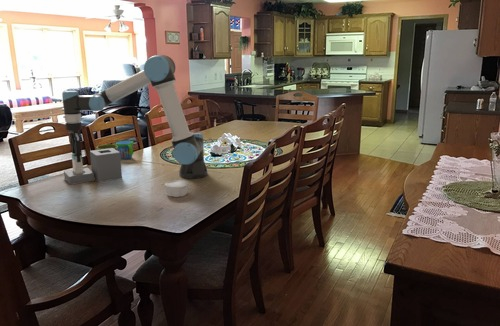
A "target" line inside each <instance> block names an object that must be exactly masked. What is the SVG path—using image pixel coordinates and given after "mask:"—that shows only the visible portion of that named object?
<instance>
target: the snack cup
mask: <svg viewBox="0 0 500 326" xmlns="http://www.w3.org/2000/svg"><path fill="white" fill-rule="evenodd" d="M134 144H135V143H134V141H133V140H119V141H116V142H115V144H114V145H117V146H118V147H117V151H119V152H120V159H121V160H128V159H131V158H132V157H133V154H134V150H133V146H134Z"/></svg>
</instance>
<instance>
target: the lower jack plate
mask: <svg viewBox="0 0 500 326" xmlns="http://www.w3.org/2000/svg"><path fill="white" fill-rule="evenodd" d="M63 176H64V177H63V178H64V179H65V181H66V182H67V183H68V184H69V185H75V184H81V183H86V182H87V183H88V182H93V181H96V179H95V178H94V173H93V172H92V169H91V168H89V167H83V173H79V174H74V172H73V169H71V170H64V171H63Z"/></svg>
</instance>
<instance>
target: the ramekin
mask: <svg viewBox="0 0 500 326" xmlns="http://www.w3.org/2000/svg"><path fill="white" fill-rule="evenodd" d="M189 186H190V185H189V182H188V181H186V180H184V179H183V180H181V179H175V180H169V181H166V182H165V183H164V187H165V193H166V195H167V196H168V197H171V196H174V197H173V198H180V197H179V196H181V197H184V196H186V195H187V194H188V189H189Z"/></svg>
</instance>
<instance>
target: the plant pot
mask: <svg viewBox="0 0 500 326" xmlns="http://www.w3.org/2000/svg"><path fill="white" fill-rule="evenodd" d="M117 147H118V146H117V145H116V144H101V145H97V146H96V150H100V149H108V148H114V149H115V150H117ZM117 151H118V150H117Z"/></svg>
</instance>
